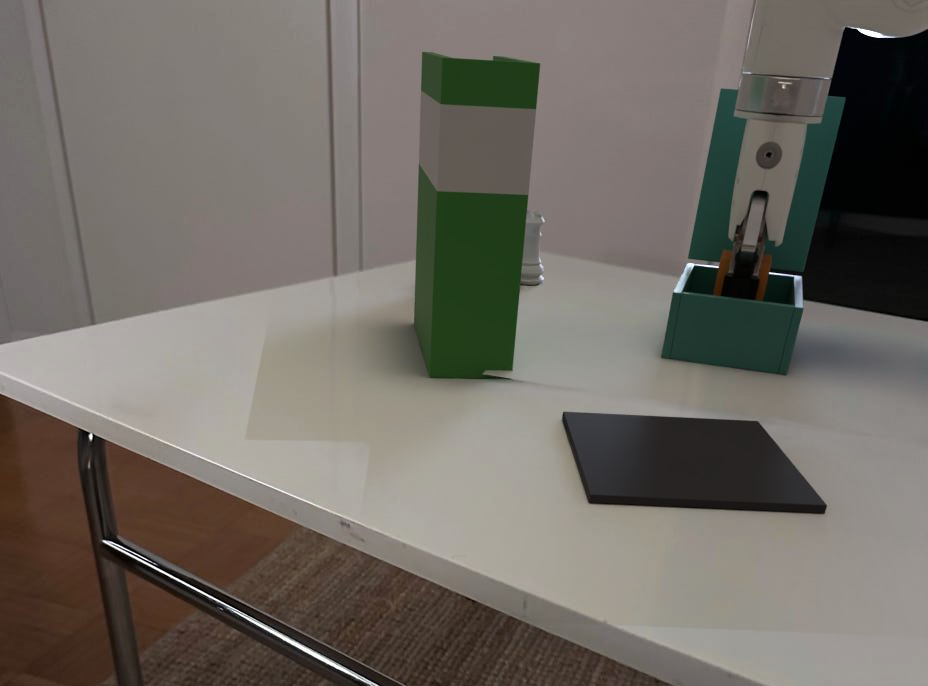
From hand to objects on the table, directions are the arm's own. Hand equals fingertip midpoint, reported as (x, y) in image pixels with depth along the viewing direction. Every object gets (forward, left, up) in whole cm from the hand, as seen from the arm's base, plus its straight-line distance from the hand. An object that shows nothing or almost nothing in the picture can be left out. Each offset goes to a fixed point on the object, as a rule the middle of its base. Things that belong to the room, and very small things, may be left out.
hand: (734, 312), depth 90 cm
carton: (0, 0, -3) cm, 3 cm away
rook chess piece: (+18, -28, -4) cm, 34 cm away
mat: (+11, +29, -4) cm, 31 cm away
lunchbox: (0, 0, -4) cm, 4 cm away
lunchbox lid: (-3, -8, +11) cm, 14 cm away
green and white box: (+27, +3, -4) cm, 27 cm away
